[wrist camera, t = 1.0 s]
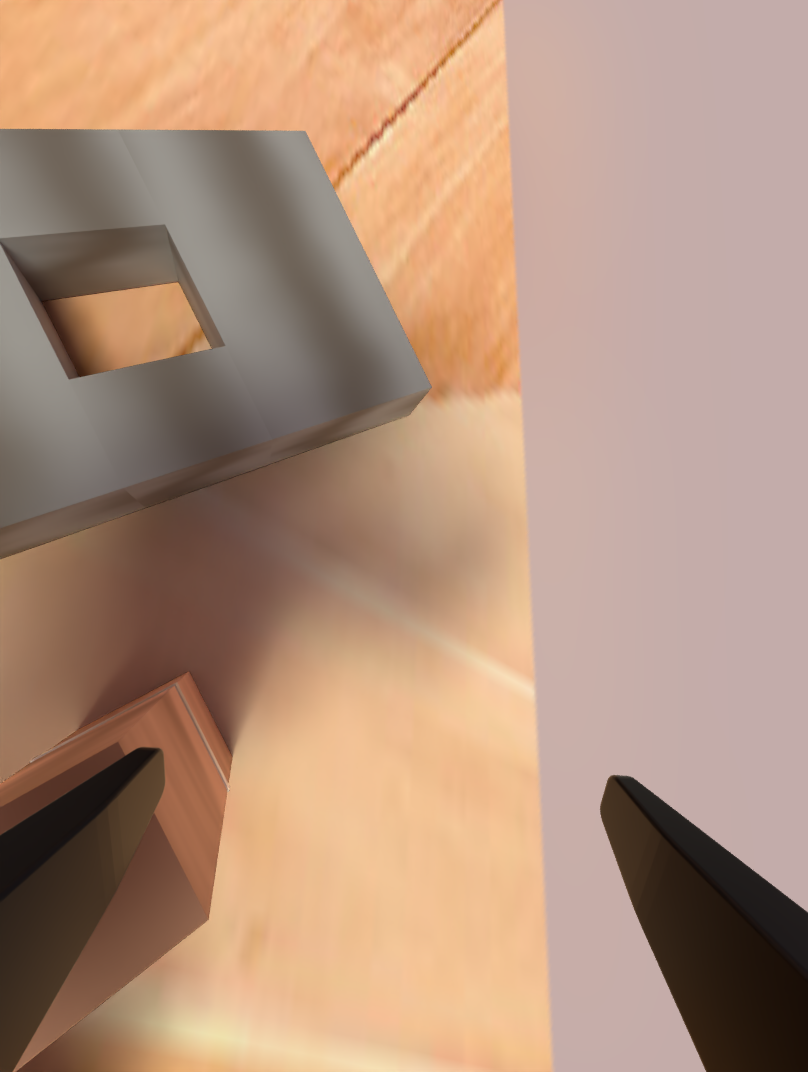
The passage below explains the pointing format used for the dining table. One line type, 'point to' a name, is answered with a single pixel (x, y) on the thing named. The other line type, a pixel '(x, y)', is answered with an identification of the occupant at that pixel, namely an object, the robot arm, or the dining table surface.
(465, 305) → the dining table surface
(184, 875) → the peg
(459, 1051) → the dining table surface
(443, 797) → the dining table surface
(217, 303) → the board
